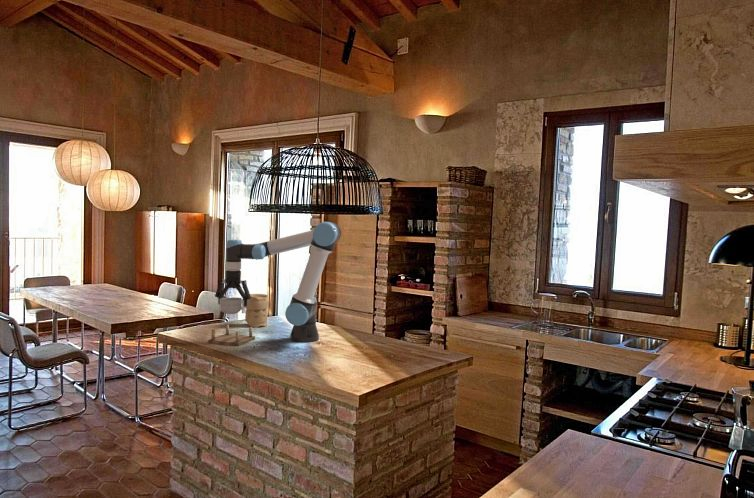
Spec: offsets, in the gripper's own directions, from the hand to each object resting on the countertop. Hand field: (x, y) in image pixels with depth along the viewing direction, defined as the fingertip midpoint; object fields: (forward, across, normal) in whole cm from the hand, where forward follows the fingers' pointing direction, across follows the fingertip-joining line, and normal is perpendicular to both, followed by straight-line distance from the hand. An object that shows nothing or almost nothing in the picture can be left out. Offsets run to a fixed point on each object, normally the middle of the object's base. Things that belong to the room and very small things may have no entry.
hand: (232, 312), depth 282 cm
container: (+15, +8, -41) cm, 44 cm away
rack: (+15, 0, 0) cm, 15 cm away
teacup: (+1, -1, 0) cm, 1 cm away
